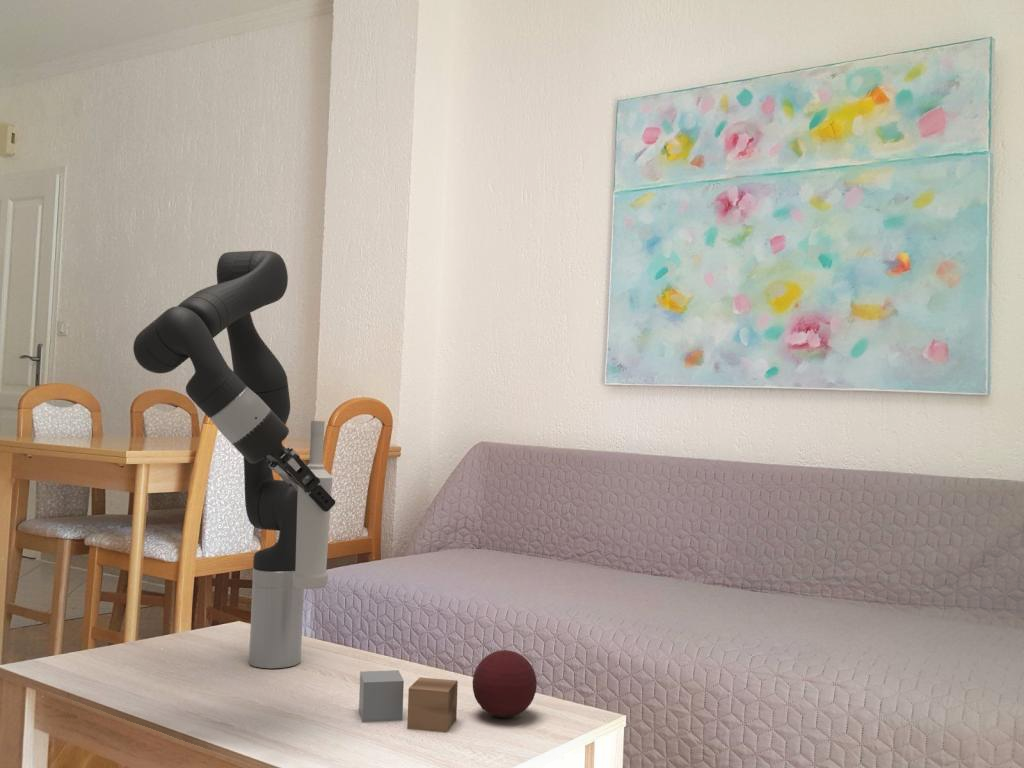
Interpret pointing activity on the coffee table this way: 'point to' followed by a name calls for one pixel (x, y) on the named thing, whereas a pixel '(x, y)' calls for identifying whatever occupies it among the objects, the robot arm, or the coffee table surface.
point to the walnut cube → (432, 704)
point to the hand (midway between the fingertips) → (325, 505)
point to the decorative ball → (504, 684)
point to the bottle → (313, 521)
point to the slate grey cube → (381, 696)
